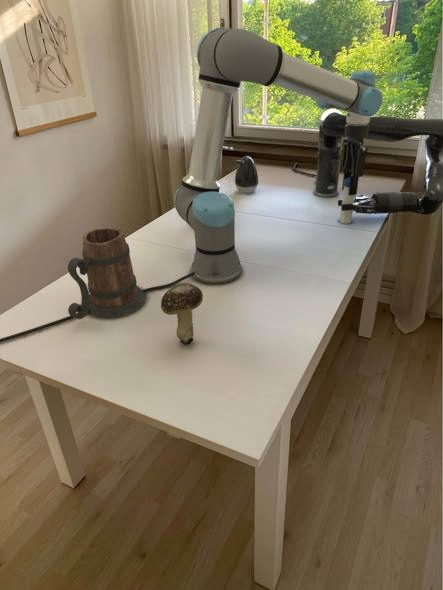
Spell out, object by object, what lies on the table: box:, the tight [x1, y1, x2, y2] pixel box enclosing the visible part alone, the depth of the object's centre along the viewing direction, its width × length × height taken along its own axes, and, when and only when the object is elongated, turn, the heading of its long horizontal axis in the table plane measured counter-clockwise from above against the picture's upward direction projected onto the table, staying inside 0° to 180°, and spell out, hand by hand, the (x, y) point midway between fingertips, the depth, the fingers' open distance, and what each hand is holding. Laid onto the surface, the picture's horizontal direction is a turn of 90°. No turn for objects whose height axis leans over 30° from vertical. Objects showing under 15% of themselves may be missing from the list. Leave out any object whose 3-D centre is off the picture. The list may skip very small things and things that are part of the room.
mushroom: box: [160, 282, 204, 346], centre depth 103 cm, size 9×9×15 cm
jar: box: [339, 186, 355, 225], centre depth 160 cm, size 4×4×15 cm
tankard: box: [67, 227, 147, 320], centre depth 116 cm, size 24×17×20 cm
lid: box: [344, 178, 350, 187], centre depth 156 cm, size 4×4×2 cm
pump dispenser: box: [234, 155, 259, 194], centre depth 191 cm, size 10×10×15 cm
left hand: (349, 192), depth 158 cm, fingers open, 5 cm apart
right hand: (340, 205), depth 161 cm, fingers closed on jar, 4 cm apart
